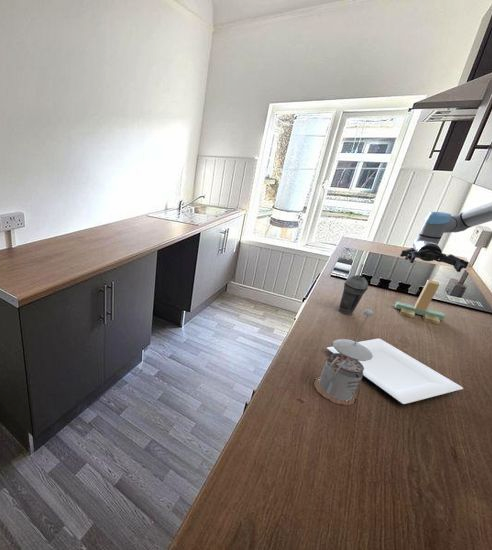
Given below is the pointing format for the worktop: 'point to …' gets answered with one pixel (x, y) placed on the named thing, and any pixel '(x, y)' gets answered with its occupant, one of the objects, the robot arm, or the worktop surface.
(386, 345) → the plate
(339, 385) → the french press
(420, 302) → the wiper
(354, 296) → the beverage cup
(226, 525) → the worktop surface
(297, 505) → the worktop surface
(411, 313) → the crust
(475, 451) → the worktop surface
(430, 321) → the crust
